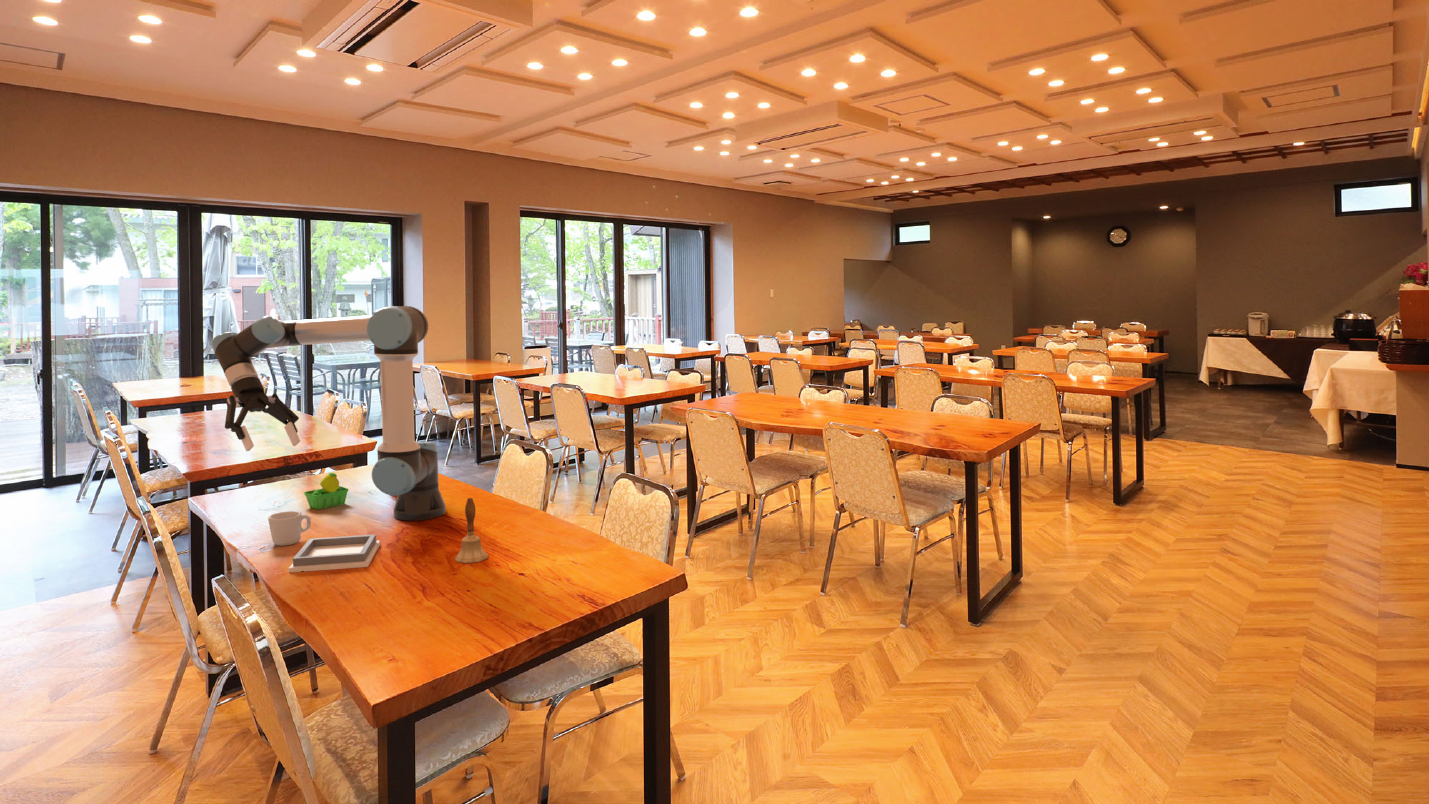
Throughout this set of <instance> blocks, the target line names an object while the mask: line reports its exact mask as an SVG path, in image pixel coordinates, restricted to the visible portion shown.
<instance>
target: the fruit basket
mask: <svg viewBox="0 0 1429 804" xmlns="http://www.w3.org/2000/svg"><path fill="white" fill-rule="evenodd" d="M319 484H320V487H321V488H319V489H313V490H309V491H304V492H303V494H304V496H305V498H306V501H307V502H308V506H309V508H312V509H314V508H315V509H316V510H323V509H327V508H326V507H328V508H331V507H330V506H332V507H337V506H341V505H340V504H342V505H345V503H346V499H347V495H348V493H349V490H350V489H349V488H347V487H344V486H340V481H339V479H338V476H337V474H336V473H335V472H328V474H327V475H325V477H323V478H322V479H321V481H320V483H319Z"/></svg>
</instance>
